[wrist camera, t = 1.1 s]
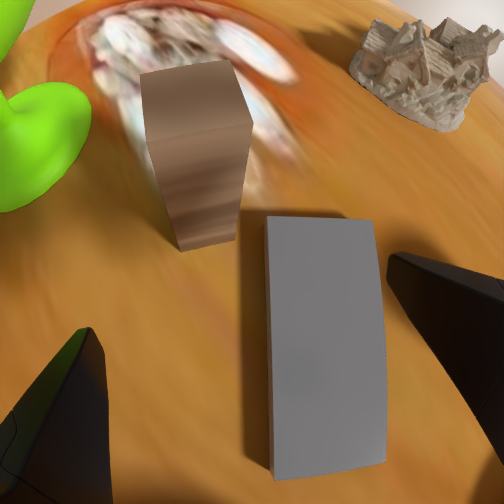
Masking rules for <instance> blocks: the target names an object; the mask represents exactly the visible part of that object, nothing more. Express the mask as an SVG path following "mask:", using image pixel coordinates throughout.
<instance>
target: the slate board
mask: <svg viewBox="0 0 504 504" xmlns="http://www.w3.org/2000/svg"><path fill="white" fill-rule="evenodd" d="M263 231H264V259H265V290H266V323H267V361H268V404H269V458H270V473H271V475H272V477H273V479H274V481H278V480H288V479H297V478H305V477H312V476H319V475H325V474H331V473H337V472H342V471H348V470H353V469H357V468H362V467H366V466H371V465H375V464H379V463H383V462H386V443H387V361H386V341H385V325H384V312H383V301H382V290H381V281H380V272H379V264H378V256H377V249H376V242H375V235H374V228H373V222H372V220H362V219H340V218H315V217H286V216H267V218H266V221H265V224H264V226H263Z"/></svg>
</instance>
